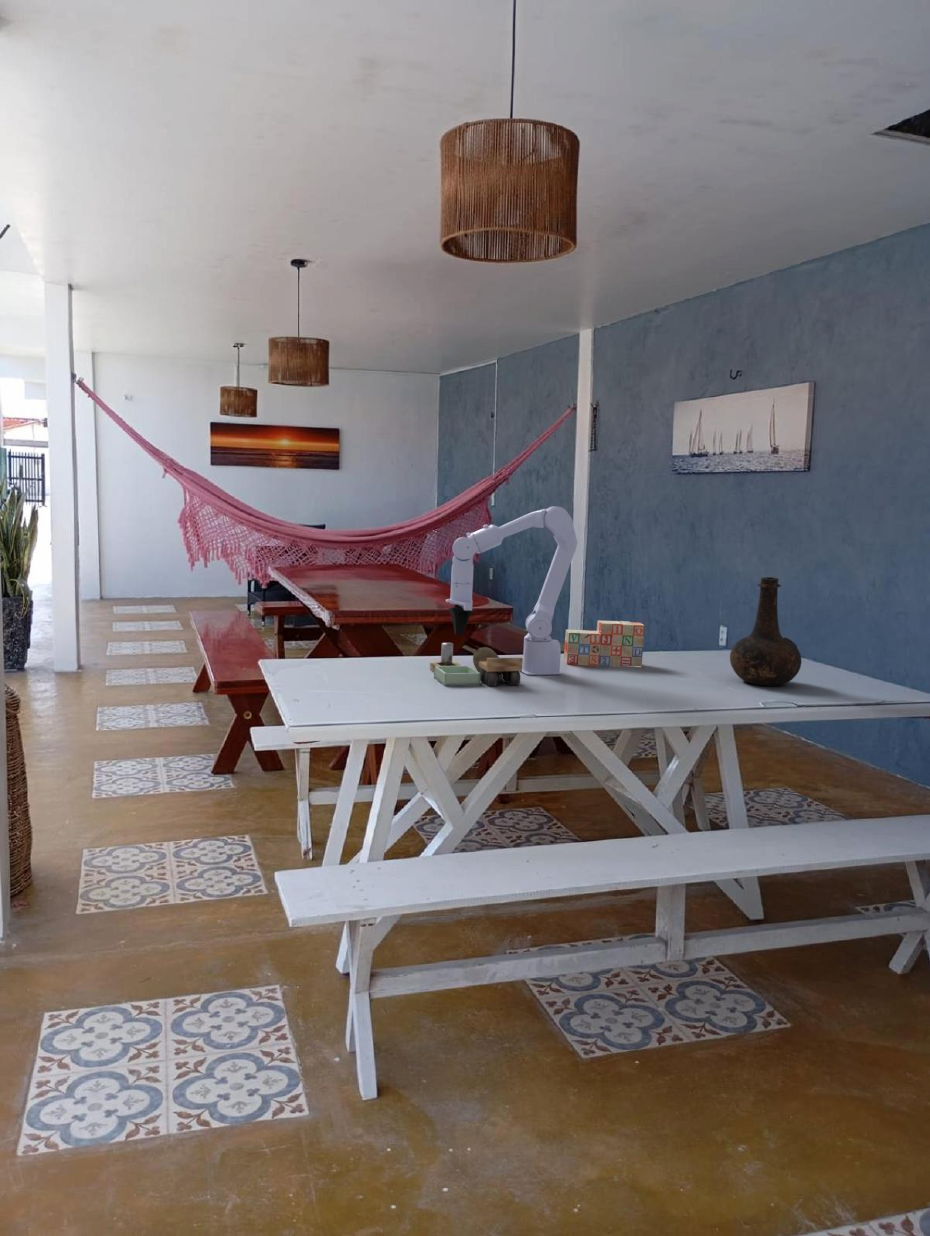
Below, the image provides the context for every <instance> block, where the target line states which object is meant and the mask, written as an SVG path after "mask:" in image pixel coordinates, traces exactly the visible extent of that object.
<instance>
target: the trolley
mask: <svg viewBox="0 0 930 1236" xmlns="http://www.w3.org/2000/svg"><path fill="white" fill-rule="evenodd" d="M479 667H481V669H480V673H481V679H480V683H482V684H483V683H485V685H486V687H489V686H490V687H493V686H494V687H495V686H496V685H497V683H498V677H497V673H496V671H503V672H502V675H501V677H502V681H503V682H504V683H508V685H509V686H519V685H520V683H521V671H522V668H523V657H499V658H487V661H483V662H479Z"/></svg>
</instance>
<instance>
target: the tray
mask: <svg viewBox="0 0 930 1236" xmlns="http://www.w3.org/2000/svg"><path fill="white" fill-rule="evenodd" d="M433 678H434V679H435V680H436V681H437V682H439V683H440V684H442V685H443V686H444V687H454V686H455V687H460V686H463V687H464V686H467V687H469V686H470V687H471V686H472V687H473V686H481V681H480V679H481V673H479V672H478V671H477V669H476V668H475V669H474V668H473V667H471V666H469V665H462V666H434V672H433Z"/></svg>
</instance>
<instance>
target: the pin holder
mask: <svg viewBox="0 0 930 1236" xmlns="http://www.w3.org/2000/svg"><path fill="white" fill-rule="evenodd" d="M434 666H441V661H430V662H429V670H430V671H431V670H432V671H431V672H433V673H434ZM452 666H463V665H461V664H460V663H459V662H457V661H452Z"/></svg>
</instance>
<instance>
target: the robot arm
mask: <svg viewBox="0 0 930 1236" xmlns="http://www.w3.org/2000/svg"><path fill="white" fill-rule="evenodd" d="M482 527H483V528H480V529H479V530H475V531H473V532H466V537H465V536H461V537H458V538H456V539H455V541H454V542H453V543H452V546H451V550H452V552H453V553H452V554H453V557H452V560H451V561H452V565H451V575H450V576H451V577H450V579H451V582H450V597H449V598H448V599H447V598H446V599H445V602H446V603H449V604H450V605H454V606H453V607H452V606H451V607H449V606H448V611H449V613H450V616H451V620H452V624H453V631H454V634H455V635H456V636H457V635H458V636H461V635H462V636H464V635H465V632H466V628H467V625H468V621H469V619H470V617H471V615H472V614H473V611H474V610H473V601H474V600H473V586H474V584H473V583H474V565H473V562H474V556H475V554H482V553H484V552H486V551H488V550H491V549H494V548H495V547H498V546H502V542H503V539H504V538H507V537H509V536H512V535H515V534H517V533H519V532H522V531H525V530H527V529H530V528H538V529H544V527H545V528H546V529H547V530H548V531H549V532H550V533H551V535H552V536H553V538H554V540H555V542H556V544H557V547H556V550H555V552H554V555H553V558H552V559H551V564H550V565H549V566H550V567H549V569H548V572H547V575H546V577H545V579H544V582H543V585H542V588H541V591H540V594H539V597H538V600H537V602H536V604H535V606H534V607H533V611H531V613H530V614H529V615H528V616H527V617H526V619H525V623H524V624H525V628H526V631H528V632H527V634H526V635H525V636H524V637H523V655H522V656H523V657H522V658H523V664H522V671H520V673H521V672H522V673H523V674H525V675H527V676H535V675H537V676H540V675H541V676H542V675H561V673H562V672H560V669H561V655H562V654H561V651H562V650H561V649H562V647H561V643H560V641H559V640H558V639H553V638H552V636H550V635H551V634H552V631H553V626H552V621H553V617H554V613H555V608H556V605H557V602H558V599H559V596H560V595H561V594H560V593H561V591H562V588H563V585H564V583H565V580H566V576H567V574H568V571H569V569H570V567H571V563H572V560H573V558H574V555H575V552H576V549H577V547H578V539H577V536H576V535H577V534H576V531H575V528H574V519H573V518H572V517H571V516H570V514H569V513H568V511H567V509H565V508H564V507H561V506H555V505H554V506H553V505H552V506H549V507H547V508H543V509H539V510H535V511H531V512H530V513H527V514H525V515H521V517H518V518H516V519H514V520H512V521H509V522H507V523H505V524H502V525H500V526H497V525H495V524H490V525H489V524H483V526H482Z"/></svg>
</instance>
